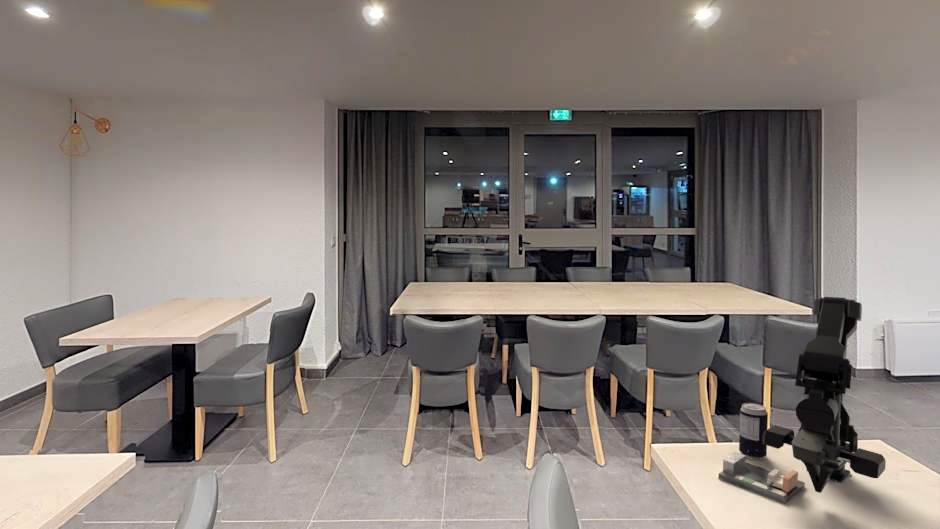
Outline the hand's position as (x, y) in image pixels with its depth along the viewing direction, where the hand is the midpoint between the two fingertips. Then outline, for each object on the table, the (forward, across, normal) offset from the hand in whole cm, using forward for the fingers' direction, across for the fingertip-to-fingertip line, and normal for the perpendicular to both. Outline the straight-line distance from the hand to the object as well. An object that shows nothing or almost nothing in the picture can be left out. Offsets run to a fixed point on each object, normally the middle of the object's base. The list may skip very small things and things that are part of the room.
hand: (818, 491), depth 95 cm
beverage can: (+3, -17, +12) cm, 21 cm away
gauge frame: (+2, -10, 0) cm, 11 cm away
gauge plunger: (+1, -6, -1) cm, 7 cm away
